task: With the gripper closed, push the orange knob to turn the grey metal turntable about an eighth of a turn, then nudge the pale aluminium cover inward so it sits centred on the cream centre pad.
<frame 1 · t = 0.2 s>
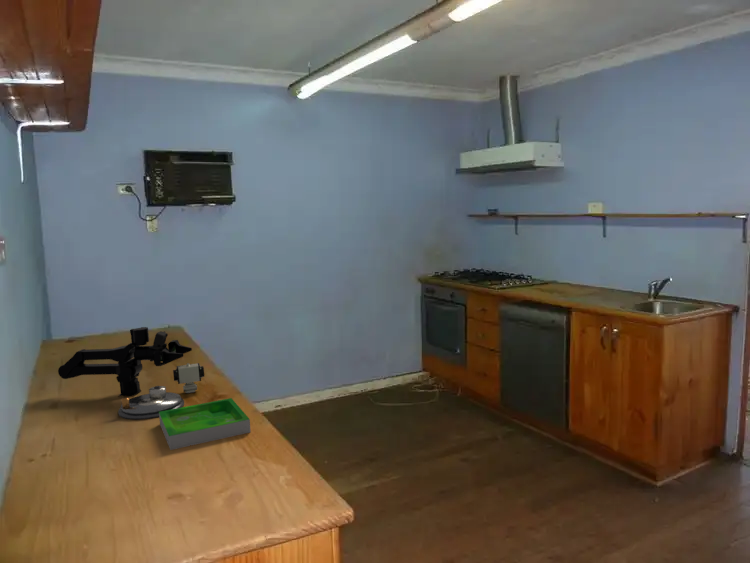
hand: (187, 352, 229), 17 cm above the counter, tool horizontal, fingers open, 9 cm apart
turntable: (151, 398, 213), point 4 cm above the counter, hinge at 0.0°, touching cover
turntable base: (152, 408, 213), on the counter
cover: (158, 396, 218), point 3 cm above the counter, touching turntable
pneumatic valve: (190, 392, 231), on the counter
tray: (204, 430, 191), on the counter
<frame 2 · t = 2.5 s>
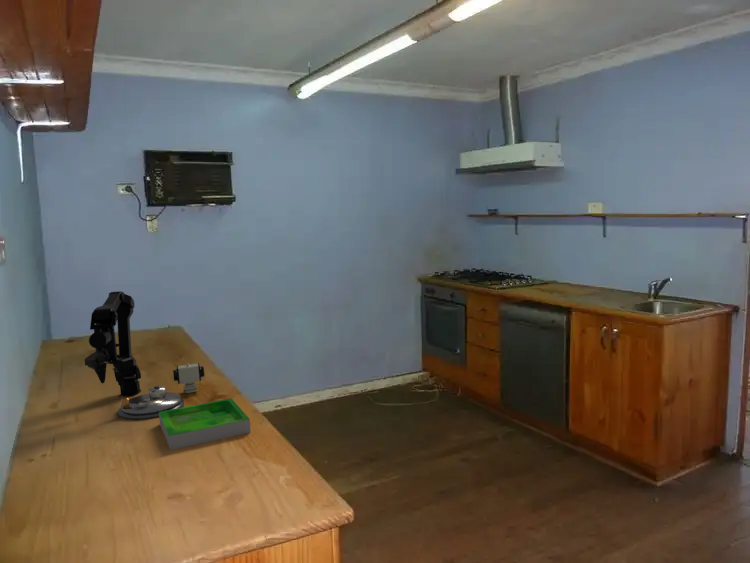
hand: (111, 384, 208), 11 cm above the counter, tool pointing down, fingers open, 8 cm apart
nothing on the counter moved.
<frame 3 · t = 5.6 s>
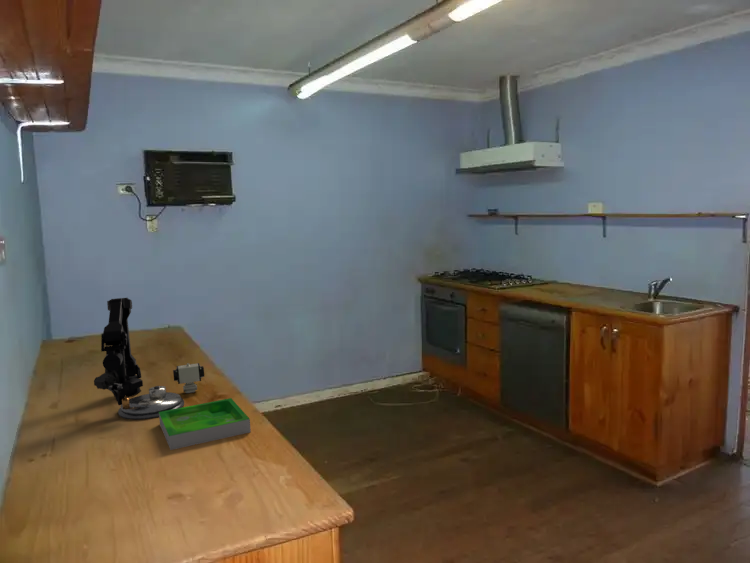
hand: (120, 404, 208), 4 cm above the counter, tool pointing down, fingers closed
turntable: (151, 398, 213), point 4 cm above the counter, hinge at 0.4°, touching cover, gripper
everything else where it was.
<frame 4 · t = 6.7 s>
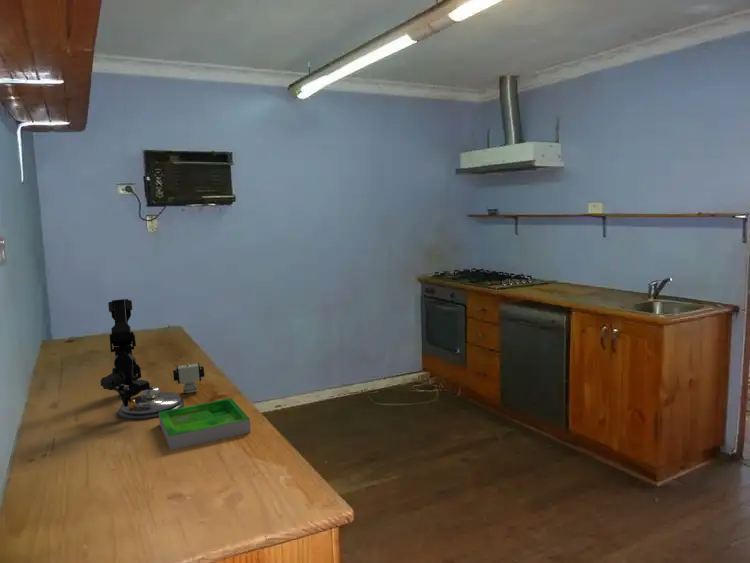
hand: (126, 406, 205), 4 cm above the counter, tool pointing down, fingers closed
turntable: (151, 398, 213), point 4 cm above the counter, hinge at 24.7°, touching cover, gripper
cover: (151, 396, 218), point 3 cm above the counter, touching turntable
everything else where it was.
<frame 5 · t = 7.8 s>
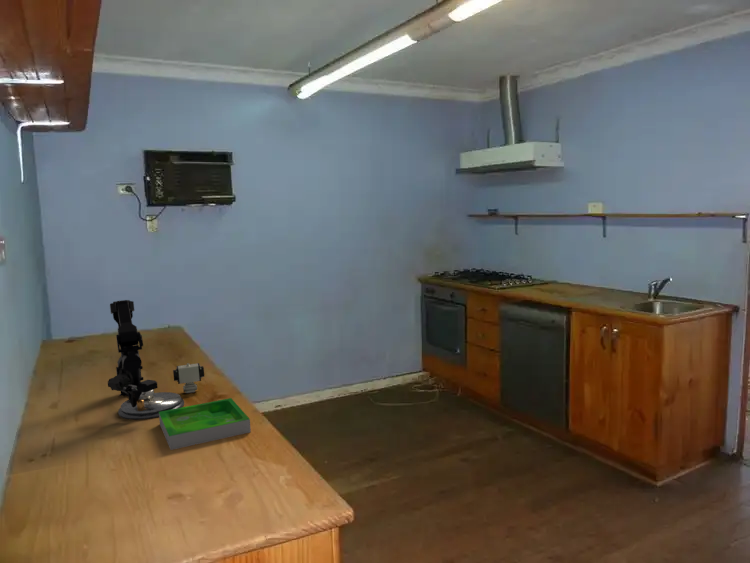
hand: (134, 406, 204), 4 cm above the counter, tool pointing down, fingers closed
turntable: (151, 398, 213), point 4 cm above the counter, hinge at 46.5°, touching cover, gripper
cover: (145, 398, 217), point 3 cm above the counter, touching turntable
everything else where it was.
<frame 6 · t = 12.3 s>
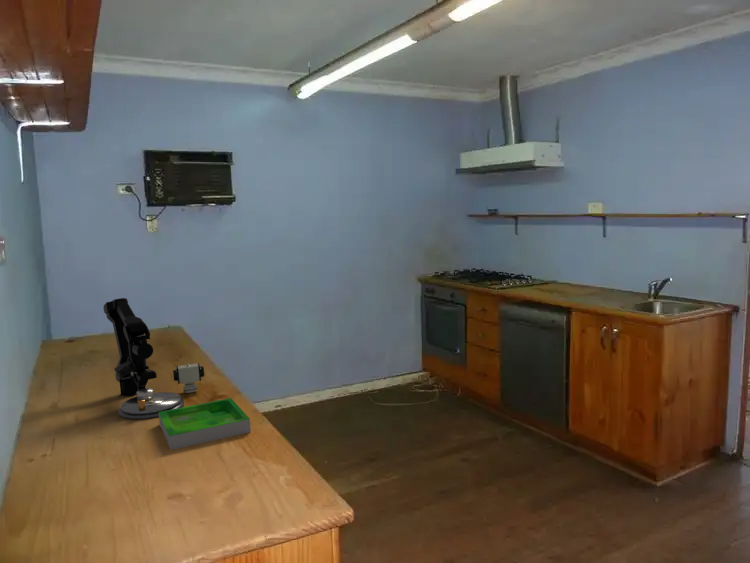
hand: (141, 393, 220), 4 cm above the counter, tool pointing down, fingers closed
turntable: (151, 398, 213), point 4 cm above the counter, hinge at 49.0°
cover: (145, 398, 217), point 3 cm above the counter, touching gripper
everything else where it was.
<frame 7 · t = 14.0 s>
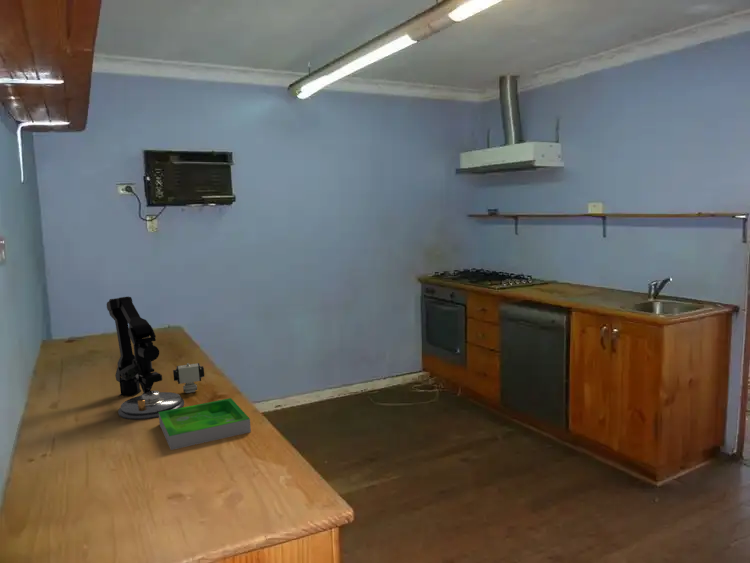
hand: (146, 396, 216), 4 cm above the counter, tool pointing down, fingers closed
turntable: (151, 398, 213), point 4 cm above the counter, hinge at 49.0°, touching cover
cover: (151, 401, 213), point 3 cm above the counter, touching gripper, turntable
everything else where it was.
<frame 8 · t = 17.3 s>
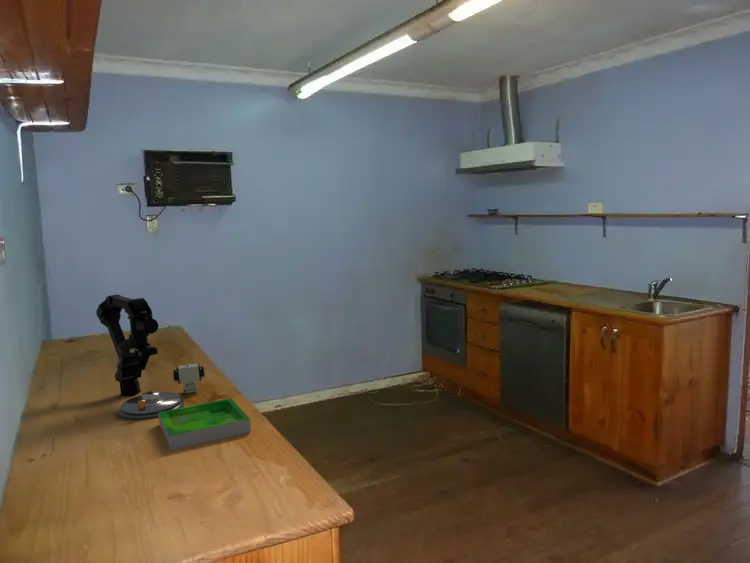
hand: (142, 369, 222), 12 cm above the counter, tool pointing down, fingers closed
cover: (151, 401, 213), point 3 cm above the counter, touching turntable
everything else where it was.
at the end: turntable at +49° (first picture: +0°); cover 0.4 cm from the turntable (horizontally); cover tilted 0° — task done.
